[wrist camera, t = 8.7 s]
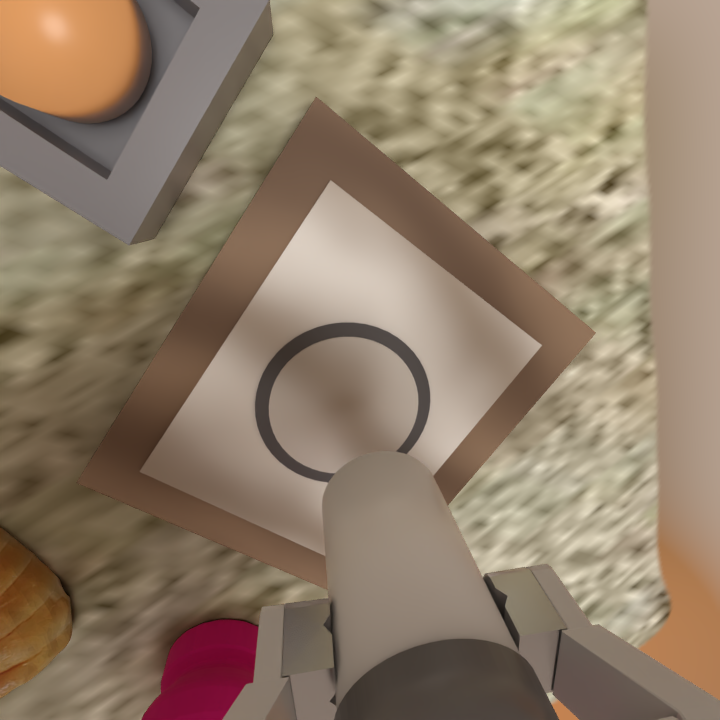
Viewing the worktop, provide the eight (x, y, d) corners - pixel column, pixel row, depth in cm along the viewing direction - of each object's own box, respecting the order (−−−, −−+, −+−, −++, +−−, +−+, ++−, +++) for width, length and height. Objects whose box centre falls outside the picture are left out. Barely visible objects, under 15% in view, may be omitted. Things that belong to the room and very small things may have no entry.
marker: (401, 565, 14) (510, 956, 7) (296, 528, 13) (293, 943, 6) (463, 475, 13) (667, 814, 6) (356, 429, 12) (442, 767, 5)
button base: (154, 238, 18) (129, 245, 15) (-91, 83, 15) (-178, 56, 12) (273, 33, 16) (269, -1, 13) (21, -185, 13) (-50, -285, 11)
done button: (109, 155, 15) (77, 146, 13) (-42, 53, 14) (-108, 23, 11) (179, 24, 14) (158, -10, 12) (25, -101, 13) (-33, -166, 10)
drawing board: (358, 582, 26) (363, 610, 24) (90, 463, 21) (72, 488, 19) (576, 324, 22) (601, 335, 20) (314, 105, 17) (316, 94, 15)
